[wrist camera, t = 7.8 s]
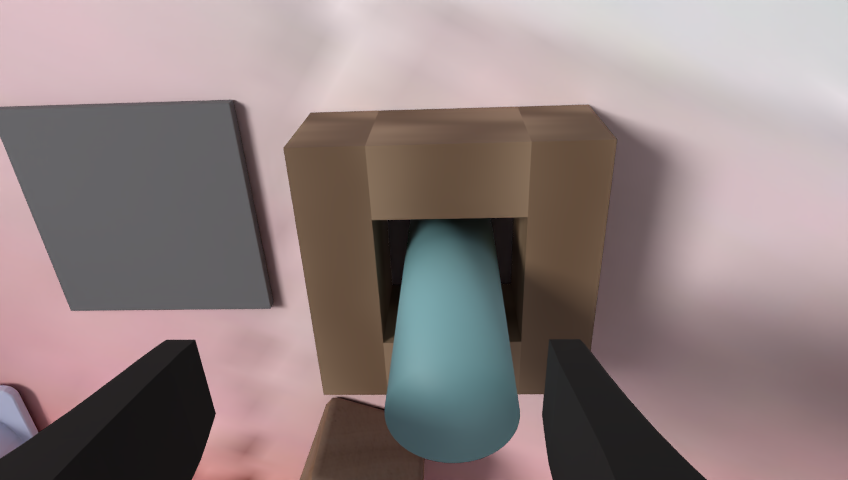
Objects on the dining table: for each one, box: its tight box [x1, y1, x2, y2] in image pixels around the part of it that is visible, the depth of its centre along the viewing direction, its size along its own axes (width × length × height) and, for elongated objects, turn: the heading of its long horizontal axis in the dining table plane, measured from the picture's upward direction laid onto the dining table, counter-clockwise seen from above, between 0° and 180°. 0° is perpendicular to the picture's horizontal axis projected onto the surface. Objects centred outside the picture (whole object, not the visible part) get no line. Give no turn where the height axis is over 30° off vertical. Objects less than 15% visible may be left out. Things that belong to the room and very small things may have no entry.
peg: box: [385, 218, 520, 463], centre depth 17 cm, size 3×3×9 cm
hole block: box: [284, 105, 617, 395], centre depth 19 cm, size 9×9×4 cm
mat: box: [0, 100, 273, 311], centre depth 20 cm, size 8×8×1 cm
